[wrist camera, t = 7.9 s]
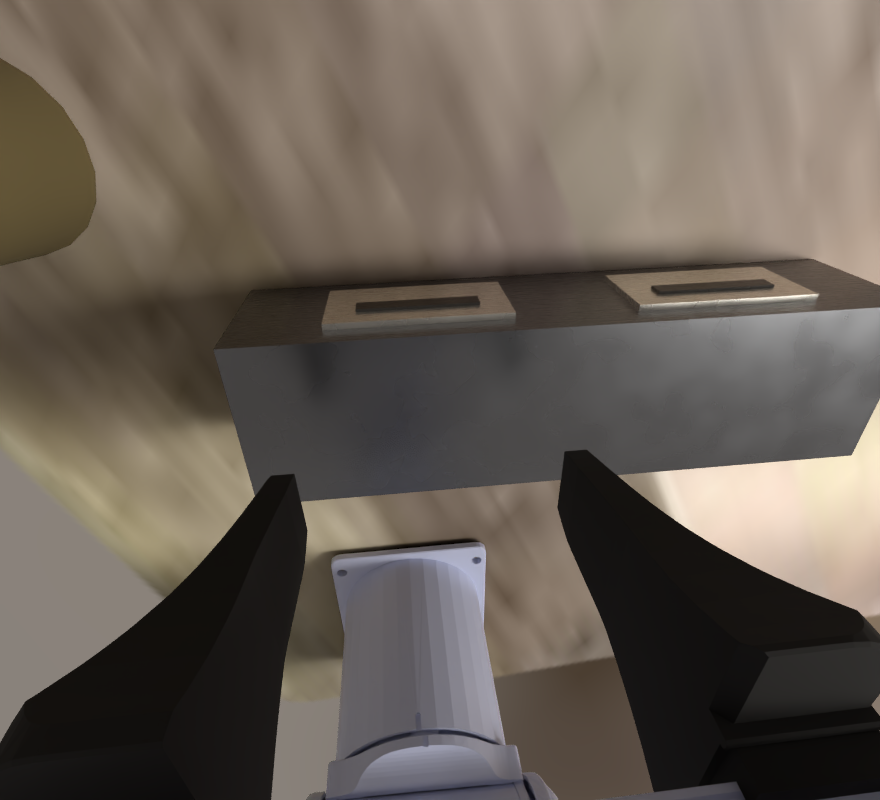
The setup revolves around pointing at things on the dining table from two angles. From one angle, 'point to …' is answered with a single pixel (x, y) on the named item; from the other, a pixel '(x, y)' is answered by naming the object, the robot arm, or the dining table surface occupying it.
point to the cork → (39, 171)
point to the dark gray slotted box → (550, 375)
